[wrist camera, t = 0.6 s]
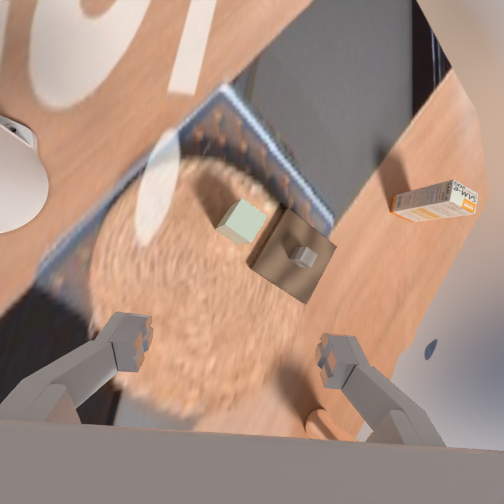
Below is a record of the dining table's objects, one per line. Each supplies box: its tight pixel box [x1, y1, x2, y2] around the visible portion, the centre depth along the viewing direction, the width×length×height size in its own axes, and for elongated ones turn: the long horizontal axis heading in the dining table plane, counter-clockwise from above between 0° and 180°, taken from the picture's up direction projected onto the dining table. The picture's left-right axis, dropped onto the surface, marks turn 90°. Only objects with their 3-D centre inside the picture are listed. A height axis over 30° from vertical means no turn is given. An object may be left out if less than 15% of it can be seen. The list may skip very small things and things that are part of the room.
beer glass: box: [305, 409, 359, 442], centre depth 42 cm, size 7×7×15 cm
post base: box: [250, 208, 337, 304], centre depth 45 cm, size 14×14×6 cm
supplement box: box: [391, 180, 478, 222], centre depth 52 cm, size 8×5×13 cm, turn 74°
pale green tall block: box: [215, 198, 267, 244], centre depth 39 cm, size 5×5×8 cm
